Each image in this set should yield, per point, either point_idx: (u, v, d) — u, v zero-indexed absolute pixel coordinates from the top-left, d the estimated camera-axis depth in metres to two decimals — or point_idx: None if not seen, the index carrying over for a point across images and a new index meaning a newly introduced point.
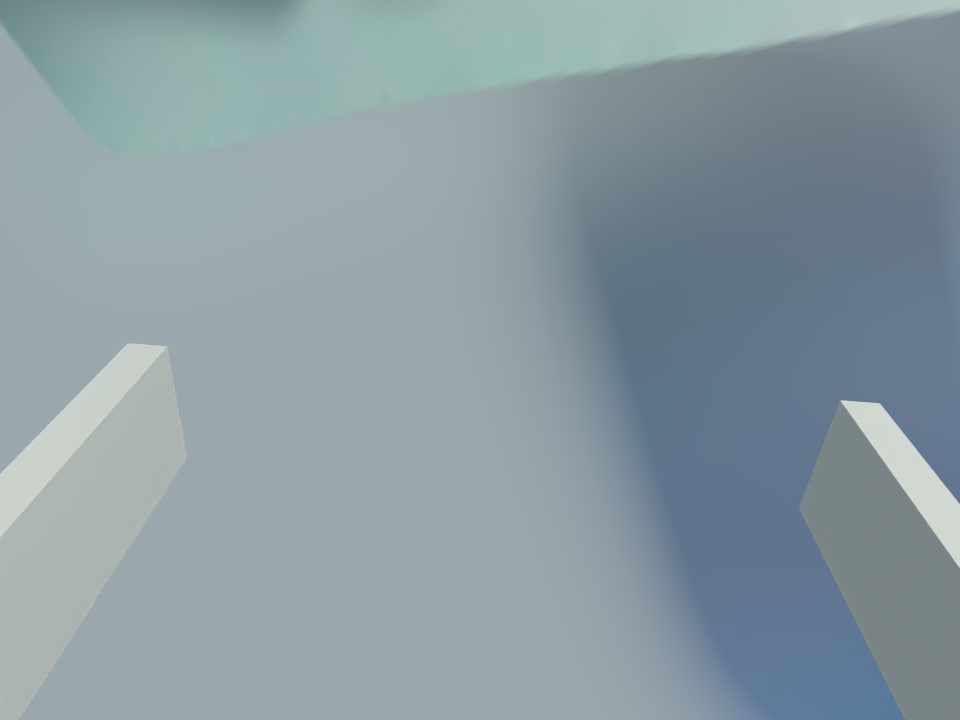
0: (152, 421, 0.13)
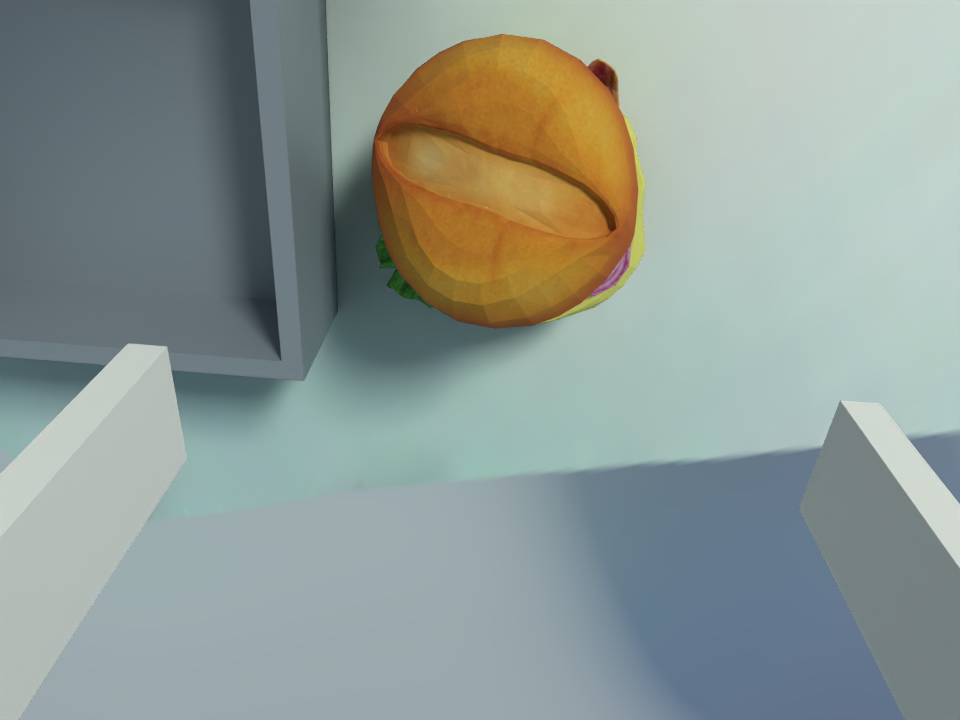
0: (152, 421, 0.13)
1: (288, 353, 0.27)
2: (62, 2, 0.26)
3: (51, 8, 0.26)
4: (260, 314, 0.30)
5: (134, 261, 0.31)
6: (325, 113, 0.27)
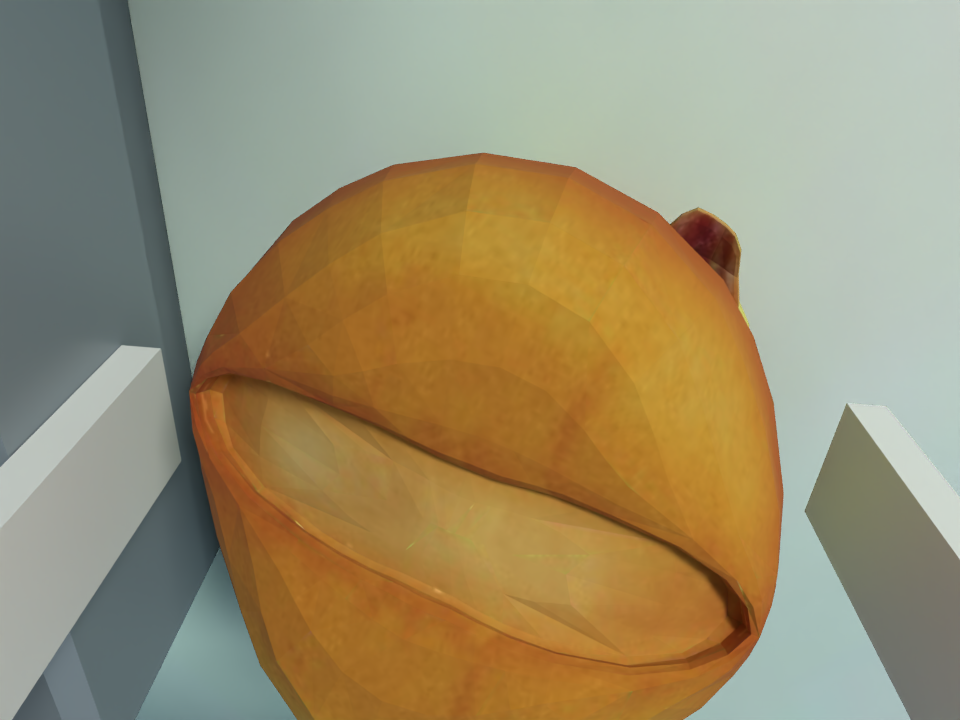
0: (145, 423, 0.13)
1: None
2: None
3: None
4: None
5: None
6: (154, 259, 0.15)
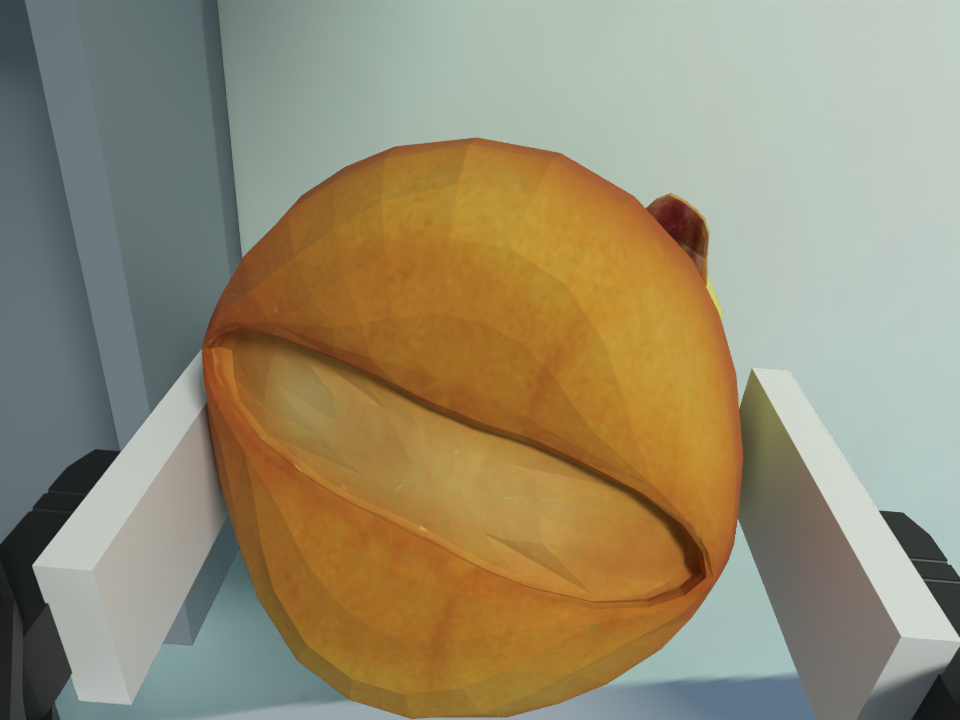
0: None
1: None
2: None
3: None
4: None
5: None
6: (230, 244, 0.19)
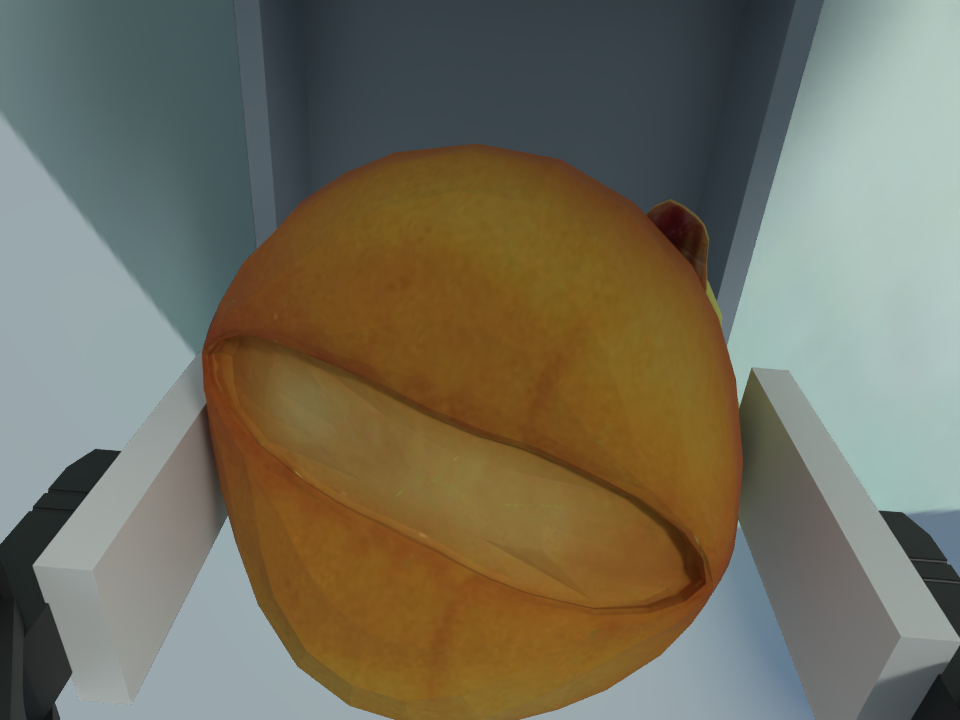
0: None
1: None
2: (500, 97, 0.28)
3: (487, 102, 0.28)
4: None
5: None
6: None
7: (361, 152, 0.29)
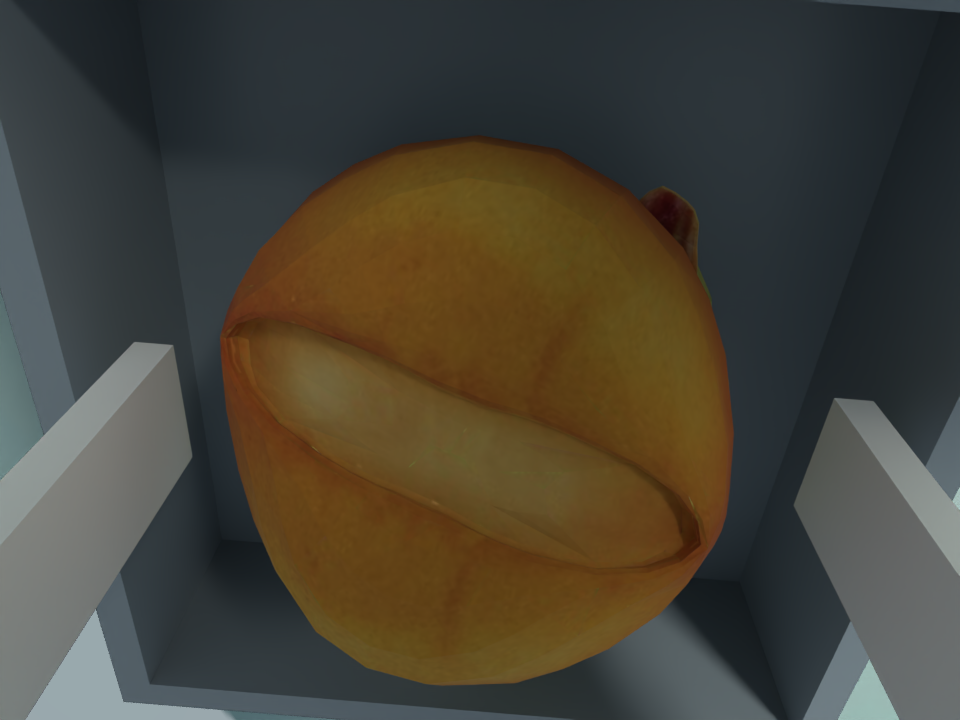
0: (158, 419, 0.13)
1: None
2: None
3: None
4: (686, 613, 0.21)
5: None
6: None
7: None
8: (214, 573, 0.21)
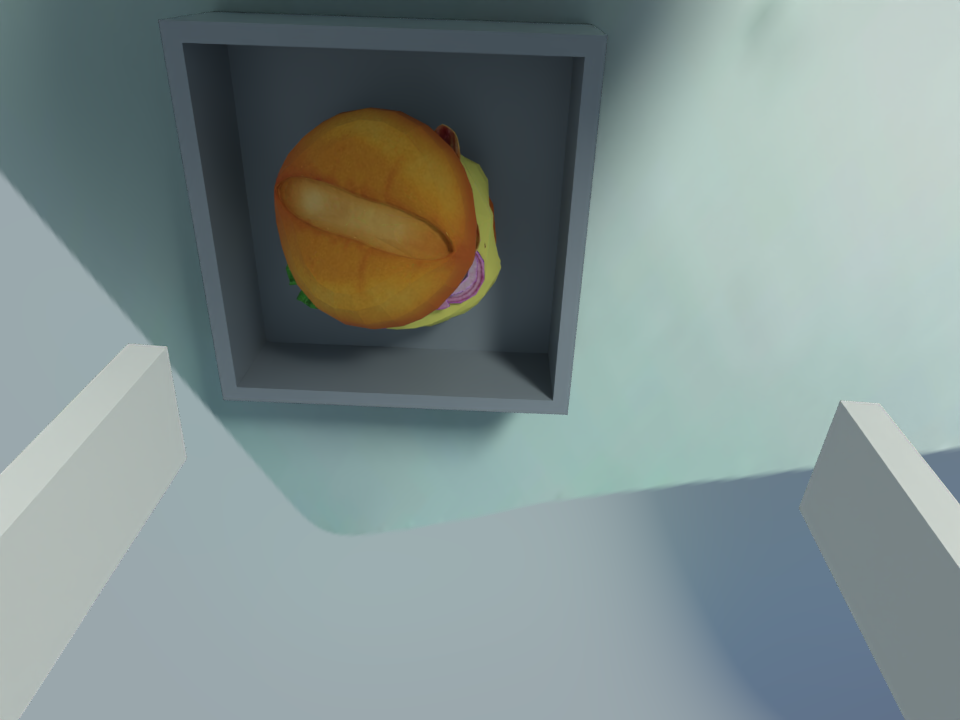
0: (152, 421, 0.13)
1: (559, 394, 0.36)
2: None
3: None
4: (514, 364, 0.39)
5: None
6: None
7: None
8: (263, 353, 0.39)
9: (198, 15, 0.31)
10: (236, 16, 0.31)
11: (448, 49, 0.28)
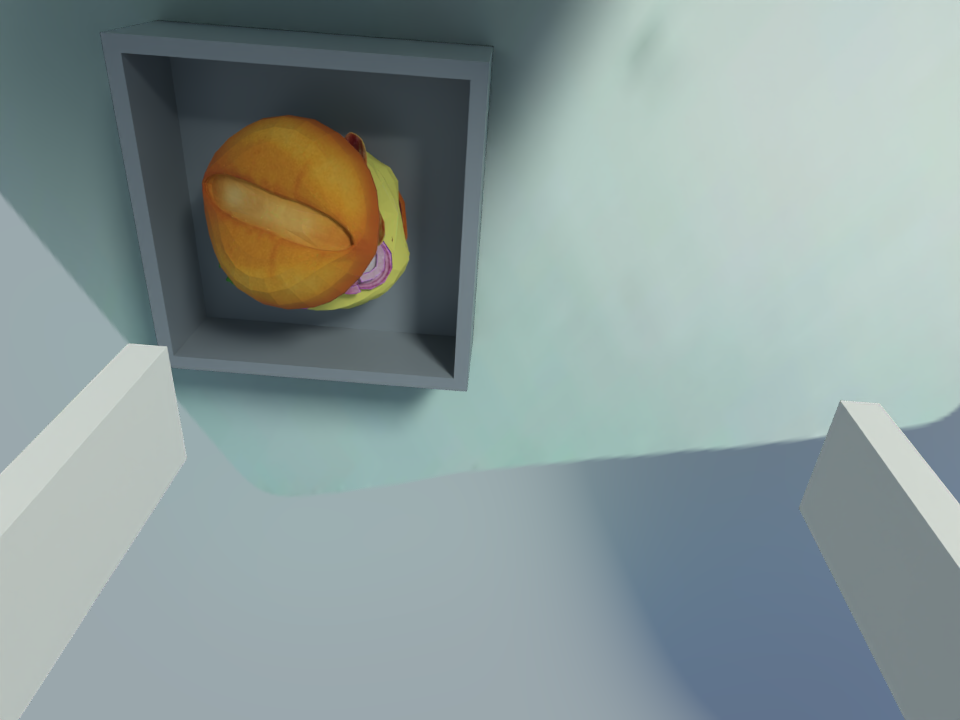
0: (152, 421, 0.13)
1: (459, 373, 0.40)
2: None
3: None
4: (426, 345, 0.44)
5: None
6: (481, 212, 0.41)
7: None
8: (202, 326, 0.44)
9: (140, 26, 0.35)
10: (174, 28, 0.35)
11: (352, 68, 0.32)
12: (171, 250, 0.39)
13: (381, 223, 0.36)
